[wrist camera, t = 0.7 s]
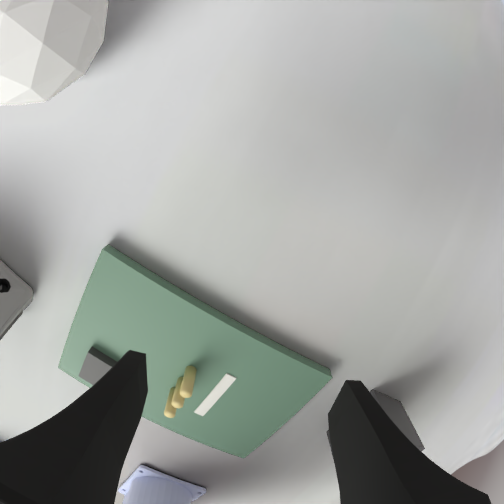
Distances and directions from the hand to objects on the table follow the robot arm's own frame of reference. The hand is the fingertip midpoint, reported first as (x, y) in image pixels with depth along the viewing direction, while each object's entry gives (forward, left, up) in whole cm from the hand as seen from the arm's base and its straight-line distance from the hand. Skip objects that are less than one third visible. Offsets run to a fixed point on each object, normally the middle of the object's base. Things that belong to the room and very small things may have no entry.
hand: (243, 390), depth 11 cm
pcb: (-9, 0, -10) cm, 13 cm away
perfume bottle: (+8, +18, -10) cm, 22 cm away
